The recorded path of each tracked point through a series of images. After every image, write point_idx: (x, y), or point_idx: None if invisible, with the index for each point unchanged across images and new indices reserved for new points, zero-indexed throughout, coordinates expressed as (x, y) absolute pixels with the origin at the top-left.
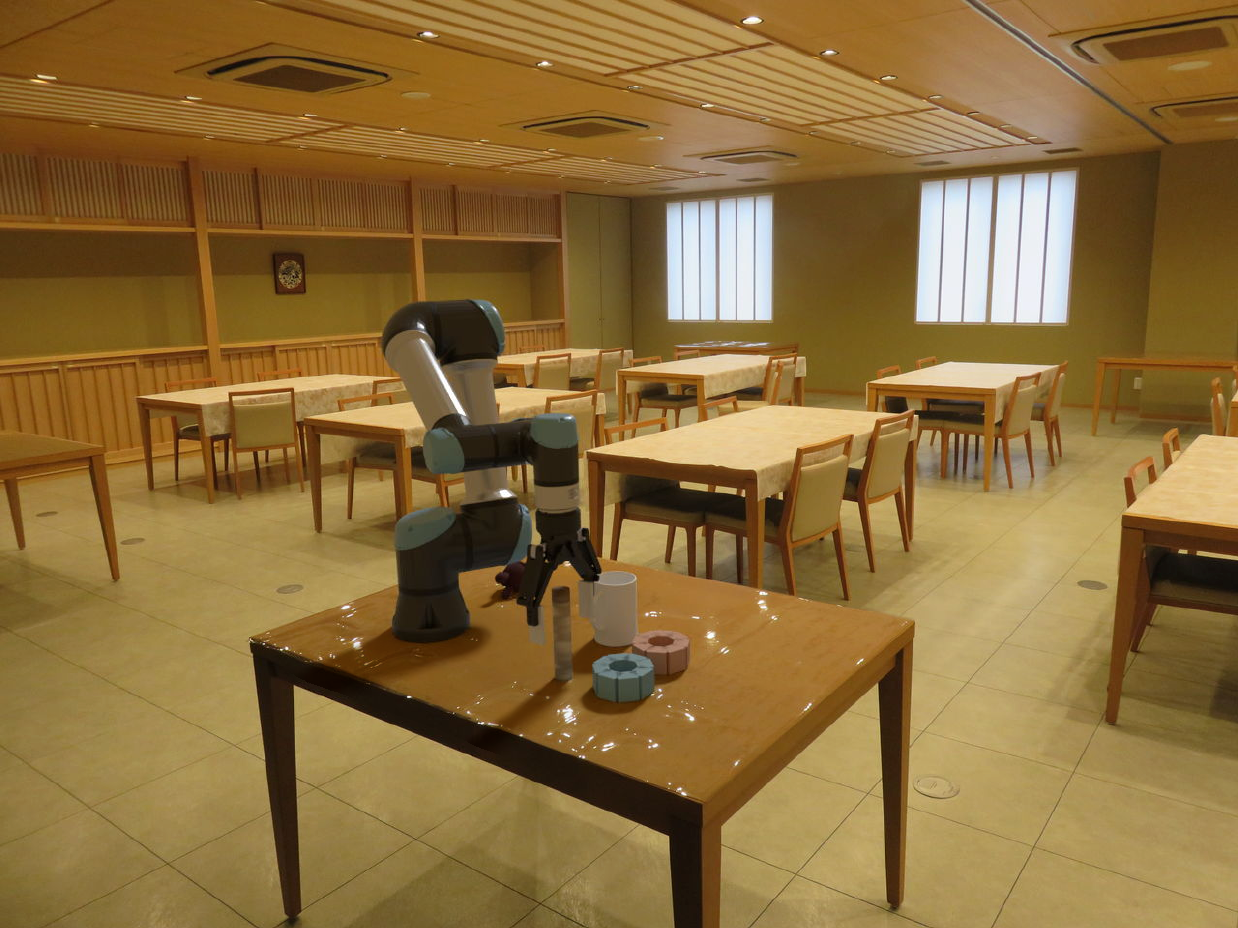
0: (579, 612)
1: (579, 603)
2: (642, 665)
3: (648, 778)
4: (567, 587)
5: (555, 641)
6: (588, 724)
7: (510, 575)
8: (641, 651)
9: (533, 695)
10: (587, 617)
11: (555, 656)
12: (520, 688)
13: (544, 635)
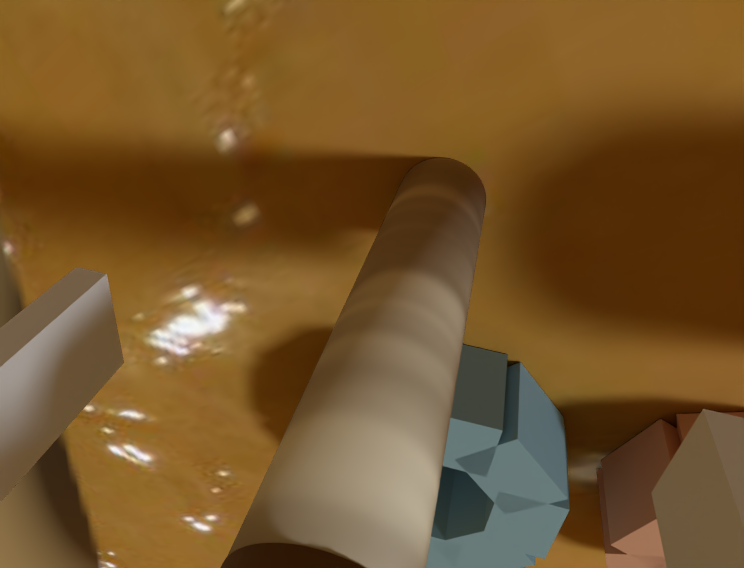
0: (711, 437)
1: (733, 519)
2: (462, 550)
3: (97, 527)
4: None
5: (348, 296)
6: (181, 392)
7: None
8: (620, 530)
9: (224, 153)
10: (666, 471)
11: (376, 237)
12: (243, 56)
13: (83, 401)
